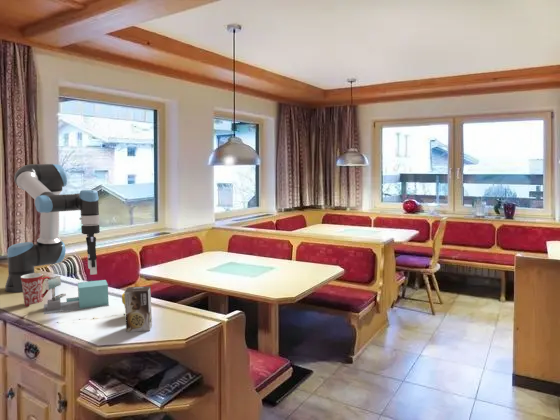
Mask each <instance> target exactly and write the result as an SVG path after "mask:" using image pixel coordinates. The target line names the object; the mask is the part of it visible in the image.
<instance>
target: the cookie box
mask: <svg viewBox="0 0 560 420" xmlns="http://www.w3.org/2000/svg"><path fill="white" fill-rule="evenodd" d="M151 288H152V287H151V286H128V287H127V288H126V289H125V290H124V294H125V306H124V309H125V332H126V333H131V332H147V331H148V332H149V331H150V330H151V329H152V326H153V320H152V319H153V317H152V293H151V291H152V289H151Z"/></svg>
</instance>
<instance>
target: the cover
mask: <svg viewBox="0 0 560 420" xmlns="http://www.w3.org/2000/svg"><path fill="white" fill-rule="evenodd" d="M77 292H78V293H77V294H78V296H77V297H67V298H66V302H71V301H79V308H84V307H92V306H100V305H108V304H109V284H108V282H107V280H106V279H101V280H100V279H99V280H90V281H83V282H77Z"/></svg>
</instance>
